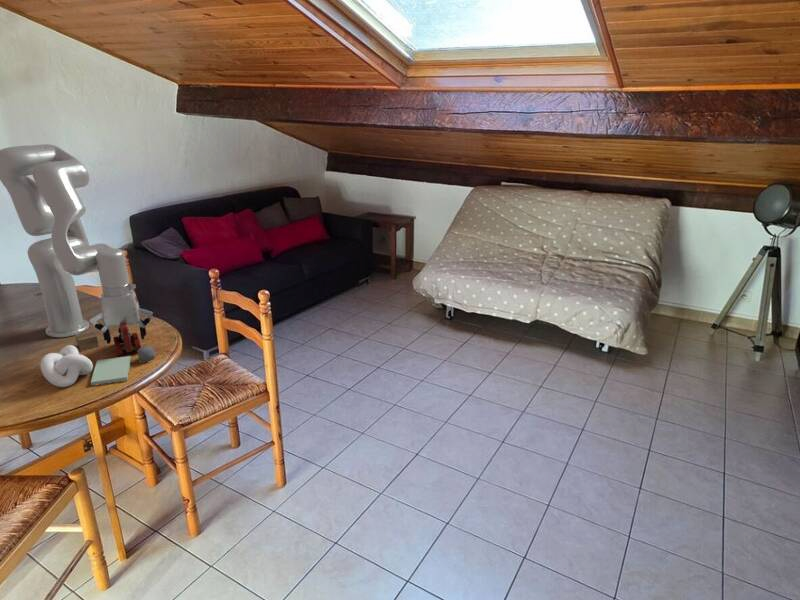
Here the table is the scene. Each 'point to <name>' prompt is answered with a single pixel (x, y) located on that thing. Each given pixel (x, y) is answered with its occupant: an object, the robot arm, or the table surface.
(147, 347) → the grey rounded pebble
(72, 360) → the white knot
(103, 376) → the board
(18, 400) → the table surface
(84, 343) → the walnut block
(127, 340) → the red wheeled piece
